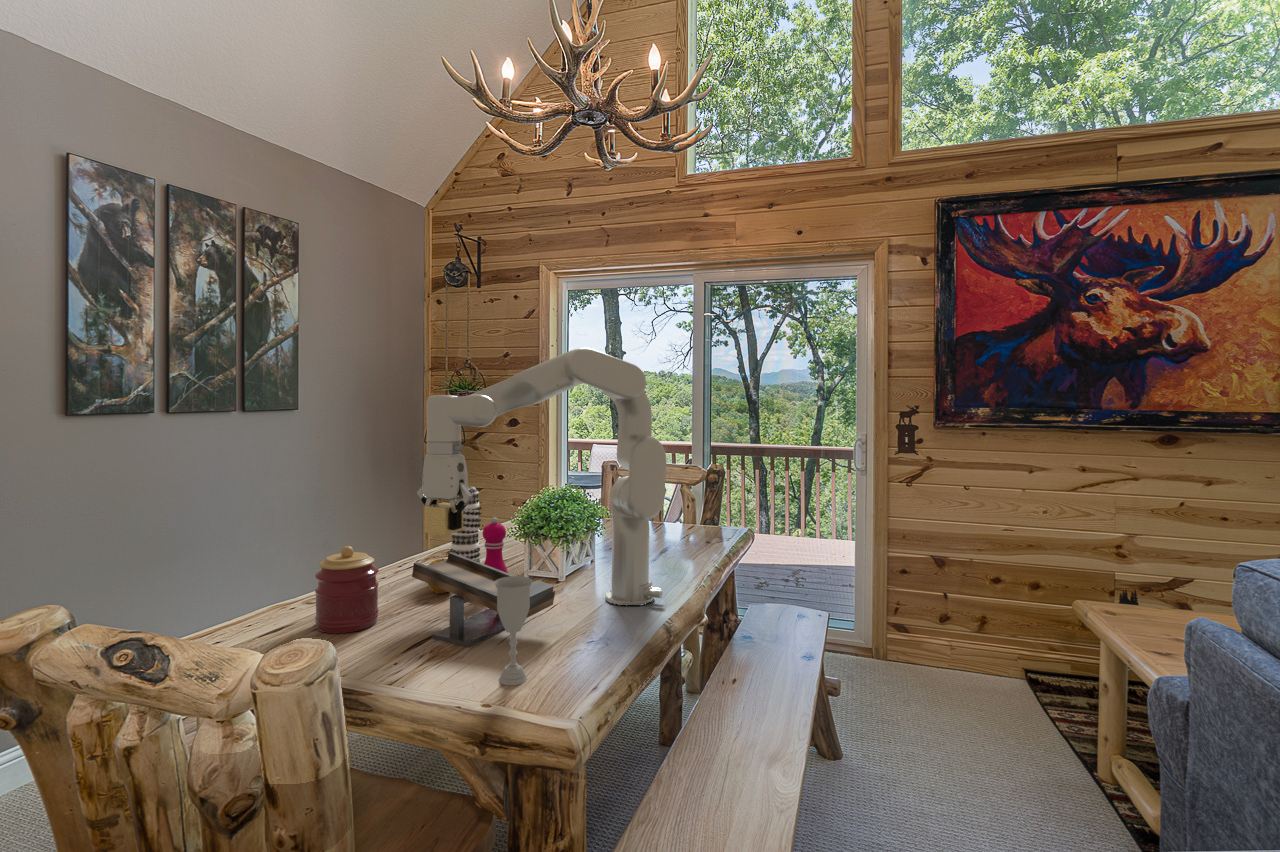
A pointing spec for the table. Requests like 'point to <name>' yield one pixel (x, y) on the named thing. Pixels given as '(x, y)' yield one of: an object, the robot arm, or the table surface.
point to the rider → (439, 519)
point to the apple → (435, 586)
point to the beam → (477, 582)
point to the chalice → (513, 620)
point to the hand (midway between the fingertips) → (444, 526)
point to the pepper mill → (494, 544)
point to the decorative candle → (468, 530)
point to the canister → (346, 592)
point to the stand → (468, 625)
